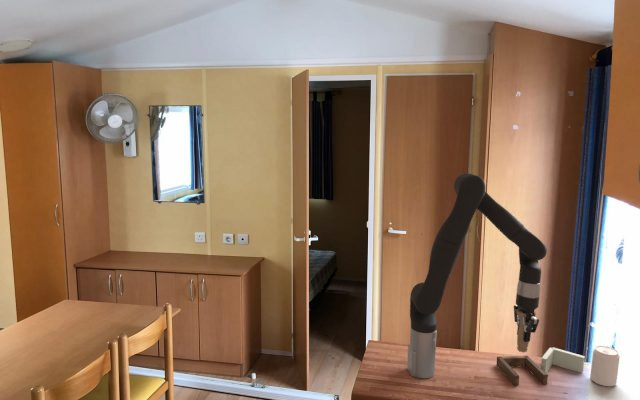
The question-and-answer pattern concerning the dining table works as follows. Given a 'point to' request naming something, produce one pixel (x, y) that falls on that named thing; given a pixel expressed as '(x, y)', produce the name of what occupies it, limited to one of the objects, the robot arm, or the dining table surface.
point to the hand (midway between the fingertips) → (523, 338)
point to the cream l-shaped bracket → (562, 360)
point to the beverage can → (604, 366)
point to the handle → (521, 333)
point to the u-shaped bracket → (515, 361)
